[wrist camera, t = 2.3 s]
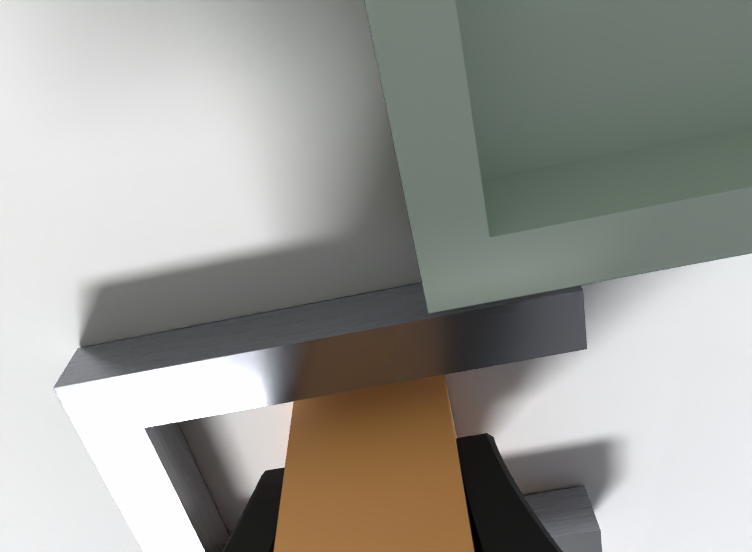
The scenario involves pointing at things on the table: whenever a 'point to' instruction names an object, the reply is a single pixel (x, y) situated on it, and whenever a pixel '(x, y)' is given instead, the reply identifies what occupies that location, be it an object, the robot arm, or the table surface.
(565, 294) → the frame
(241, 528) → the robot arm
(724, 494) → the table surface
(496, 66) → the tray
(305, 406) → the pin
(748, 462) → the table surface
